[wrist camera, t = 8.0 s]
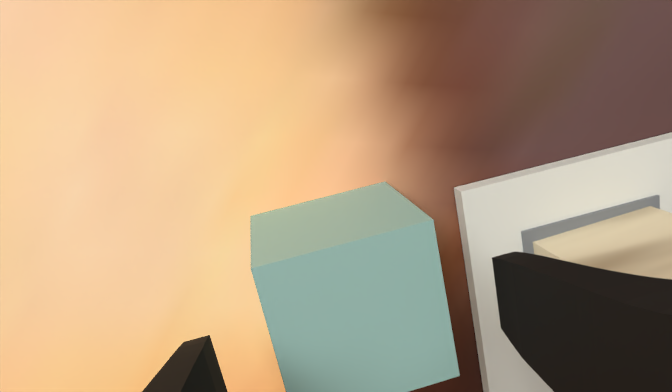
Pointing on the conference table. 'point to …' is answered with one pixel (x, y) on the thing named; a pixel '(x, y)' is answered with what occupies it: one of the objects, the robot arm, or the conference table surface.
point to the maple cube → (618, 244)
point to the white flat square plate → (547, 229)
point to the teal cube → (354, 293)
